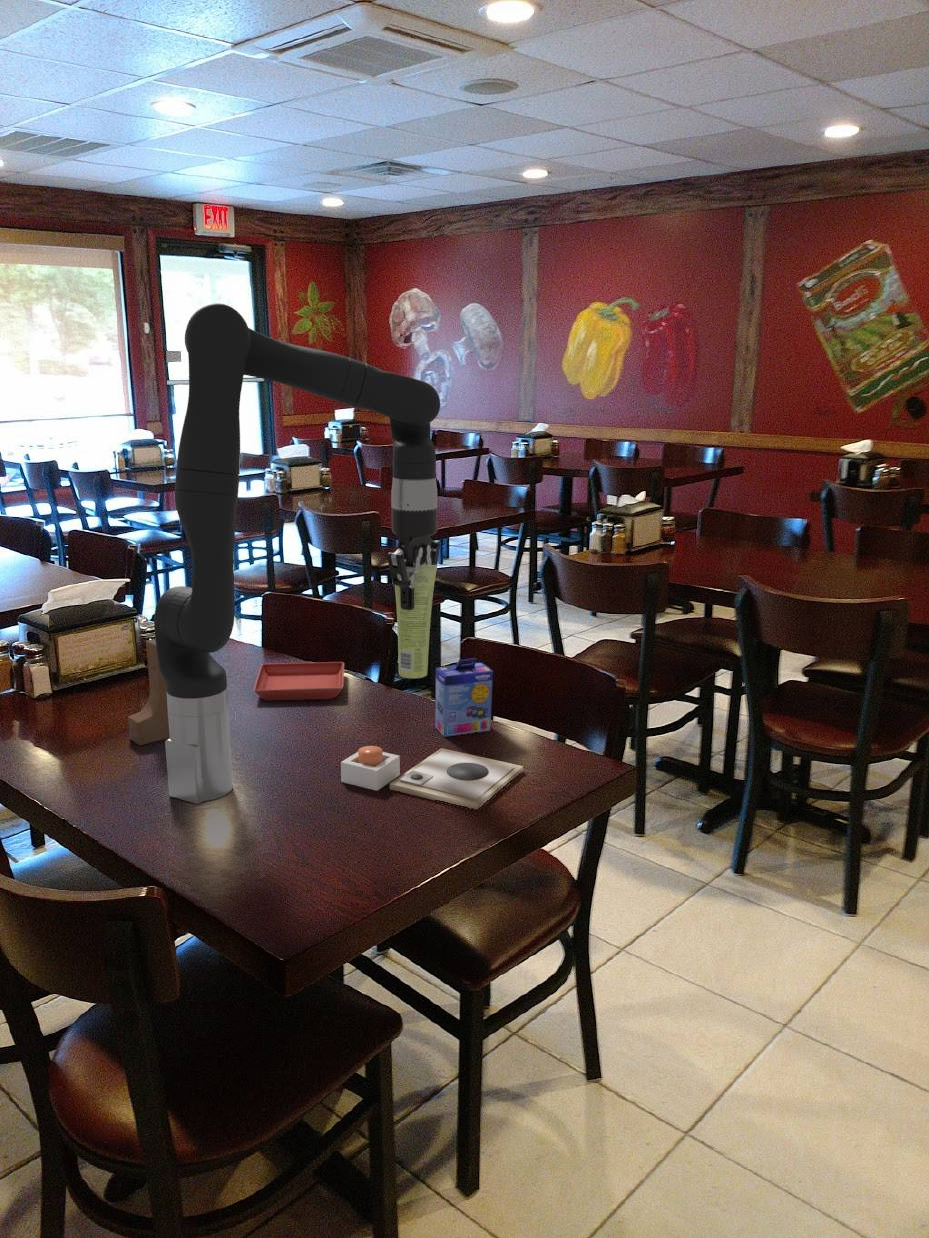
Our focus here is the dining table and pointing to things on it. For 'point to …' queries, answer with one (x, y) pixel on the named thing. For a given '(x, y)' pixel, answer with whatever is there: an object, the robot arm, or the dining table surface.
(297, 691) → the plant saucer
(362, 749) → the button
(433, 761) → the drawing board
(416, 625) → the tube
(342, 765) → the button housing
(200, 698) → the robot arm
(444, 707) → the ink cartridge box
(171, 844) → the dining table surface
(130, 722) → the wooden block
